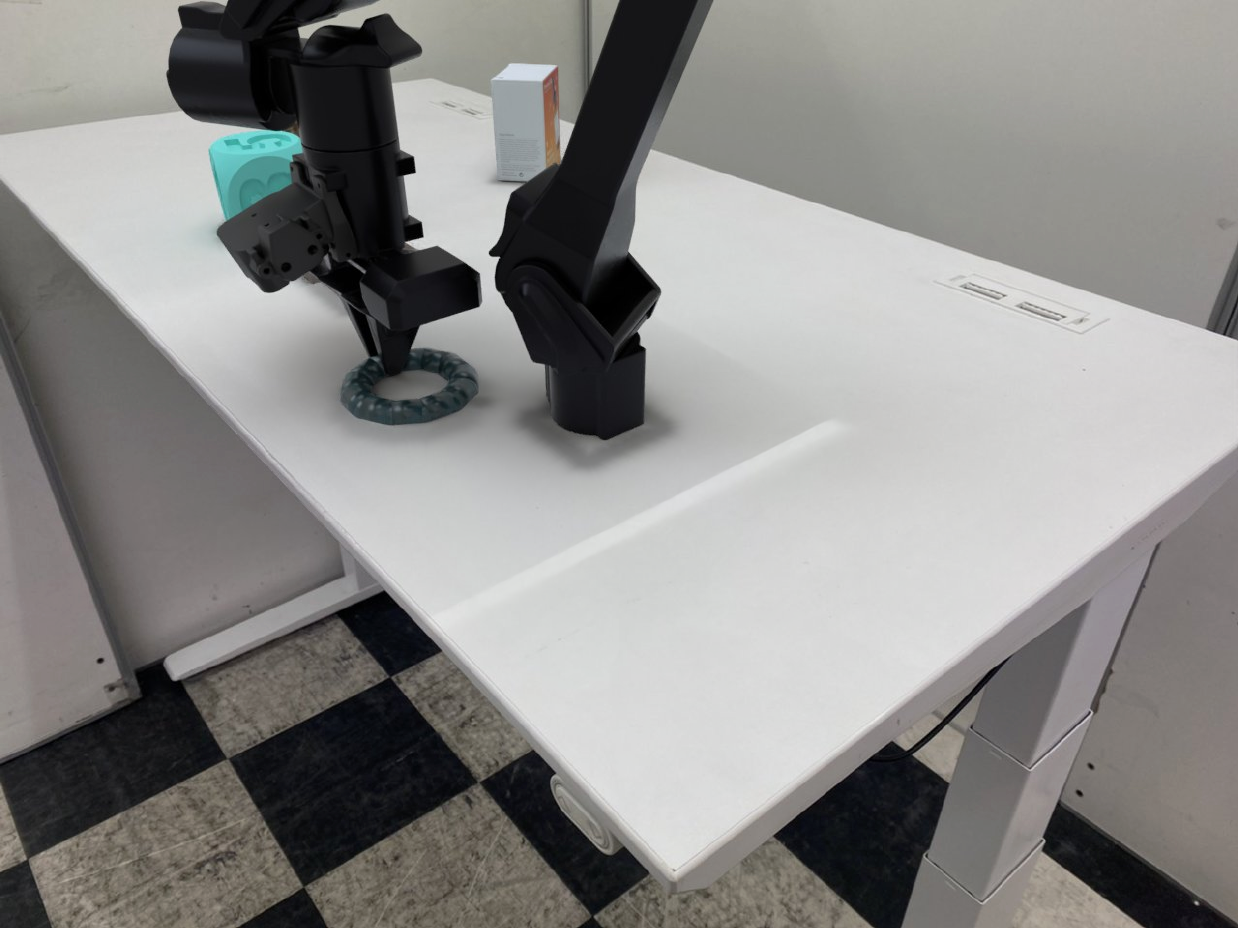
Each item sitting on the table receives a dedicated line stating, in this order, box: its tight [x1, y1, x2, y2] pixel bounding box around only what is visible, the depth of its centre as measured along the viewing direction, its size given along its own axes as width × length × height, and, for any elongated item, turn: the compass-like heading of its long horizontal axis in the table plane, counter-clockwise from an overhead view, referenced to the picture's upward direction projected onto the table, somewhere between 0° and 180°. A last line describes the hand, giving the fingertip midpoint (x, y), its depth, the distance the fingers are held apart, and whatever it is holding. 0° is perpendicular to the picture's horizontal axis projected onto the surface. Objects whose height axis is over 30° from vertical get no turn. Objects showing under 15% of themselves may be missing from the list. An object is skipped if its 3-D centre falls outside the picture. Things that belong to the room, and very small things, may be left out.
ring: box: [339, 347, 479, 426], centre depth 62 cm, size 9×9×2 cm
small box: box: [490, 62, 562, 182], centre depth 100 cm, size 8×6×10 cm
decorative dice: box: [207, 130, 303, 222], centre depth 87 cm, size 8×8×8 cm
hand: (386, 367), depth 64 cm, fingers closed on ring, 2 cm apart
